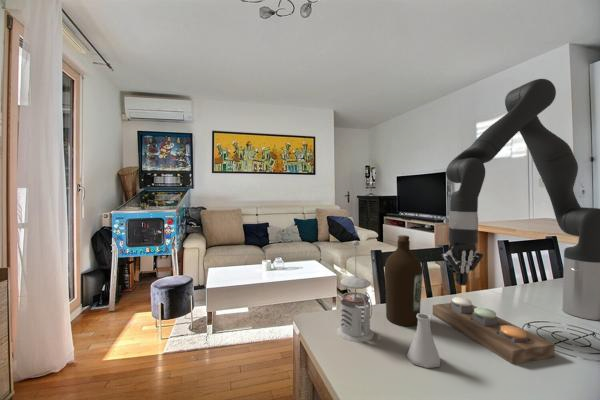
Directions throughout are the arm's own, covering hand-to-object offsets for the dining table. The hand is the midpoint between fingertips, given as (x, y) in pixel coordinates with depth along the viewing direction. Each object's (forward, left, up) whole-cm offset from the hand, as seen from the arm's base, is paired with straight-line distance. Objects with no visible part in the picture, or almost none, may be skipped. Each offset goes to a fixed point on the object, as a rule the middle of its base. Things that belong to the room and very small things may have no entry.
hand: (461, 284), depth 84 cm
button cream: (0, 0, -8) cm, 9 cm away
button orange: (0, +16, -10) cm, 19 cm away
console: (0, +8, -11) cm, 13 cm away
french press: (+34, +1, -11) cm, 36 cm away
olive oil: (+17, -4, -11) cm, 20 cm away
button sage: (0, +8, -9) cm, 12 cm away
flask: (+24, +15, -11) cm, 30 cm away
